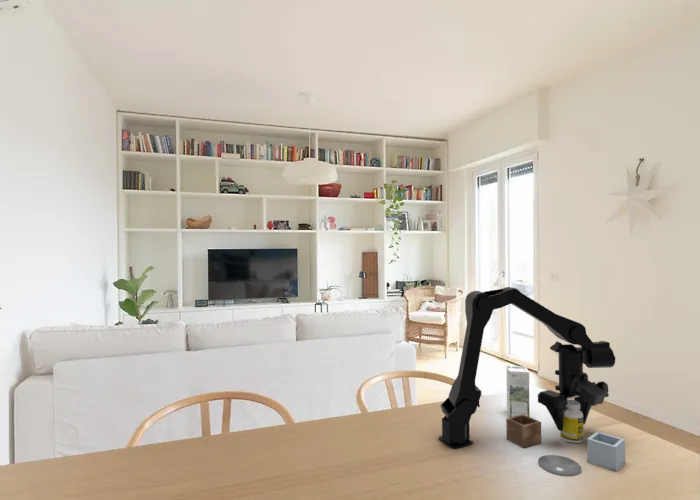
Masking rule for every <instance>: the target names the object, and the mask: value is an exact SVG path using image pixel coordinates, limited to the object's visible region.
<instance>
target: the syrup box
mask: <svg viewBox="0 0 700 500" xmlns="http://www.w3.org/2000/svg"><path fill="white" fill-rule="evenodd" d="M506 412H507V414H508V418H510V417H514V416H518V415H522V414H523V415H526V416H528V417H530V372H529V369H528V368H527V367H526V366H521V365H518V366H516V365H506ZM530 418H531V417H530Z"/></svg>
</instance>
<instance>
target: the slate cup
mask: <svg viewBox="0 0 700 500" xmlns="http://www.w3.org/2000/svg"><path fill="white" fill-rule="evenodd" d="M586 440H587V441H586V443H587V444H586V445H587V446H586V447H587V463H588V464H592V465H595V466H598V467H600V468H601V467H602V468H604V469H607V470H610V471H613V472H616V473H617V472H618V471H619V470H620V469H621V468H622V467H623V466H624V465H625V463H626V439H624V438H621V437H618V436H614V435H611V434H609V433H608V434H607V433H604V432H601V431H596V432H594V433H593V434H592V435H591V436H589V437H588V438H587V439H586Z"/></svg>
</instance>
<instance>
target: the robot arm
mask: <svg viewBox="0 0 700 500" xmlns="http://www.w3.org/2000/svg"><path fill="white" fill-rule="evenodd" d="M464 304H465V305H464V309H465V311H464V312H465V318H466V319H465V320H466V327H465V335H464V339H463V345H462V351H461V356H460V362H459V369H458V374H457V377H456V378H455V380H454V382H453V383H452V385H451V387H450V391H449V393H448V397H447V398H446V399H445V400H444V401H443V402H442V403H440V409H441V411H442V413H443V414H444V417H442V418H441V435H442V436H439V437H438V440H439V441H440V442H442V443H444V444H446V445H447V446H448V447H450V448H451V449H454V450H455V449H458V448H462V447H467V446H469V445H473V444H474V442H473V440H471V439H470V435H471V434H470V420H471V418H472V416H473V414H475V413H476V412H477V408H480V407H481V405H480V400H481V397H482V390H481V389H480V388H479V387H478V386H477V385H476V378H477V372H478V367H479V366H478V365H479V360H480V356H481V355H480V353H481V349H482V343H483V337H484V331H485V327H486V326H487V324H489V321H490V319H491V317H492V315H493V312H494V310H498V309H501V308H504V307H506V306H508V305H512V306H514V307H516V308H517V309H519V310H520V311H522V312H524V313H525V314H527V315H528V316H530V317H532V318H534V319H535V320H537V321H538V322H540V323H542V324H543V325H544V326H545V327H546V328H547V329H548V330H549V331H550V332H551V333H552V334H553V335H554V336H555V337H556V338H557V339H560V340H562V341H563V342H567V343H569V344H565V343H563V344H562V342H559V341H555V342H554V344H552V345H551V346H550V347H549V349H550V350H552V351H553V352H555V353H558V369H556V370H555V371H554V375H557V376H558V384H557V385H555V387H554V388H555V390H556V391H553V390H551V389H548V390H544V391H539V393H537V403H539V404H542V406H545V408H546V409H547V411H548V413H549V414H550V416H551V419H552V420H553V422H554V424H555V427H556V429H557V430H558V431H563V423H564V412H565V411H566V410H567V409H568V407H566V405H567V400H572V399H573V400H575V401H578V402H579V403H580V409H579V410H580V411H581V412H582V413H583V426H584V425H585V424H586V422H587V419H588V417H589V413H590V411H591V409H592V407H594V406H597V405H603V403H604V400H605V398H607V397H609V395H610V394H609V385H608V383H606V382H605V381H597V383H596V382H595V381H593V382H591V381H590V380H589V376H588V373H587V372H584V365H585V367H587V368H588V369H599V368H600V369H602V368H603V369H604V368H609V369H610V368H613V367H614V365H615V364H616V355H615V353H614V351H613V348H611V347H610V345H611V343H610V342H609V341H606V340H599V341H592V339H591V338H590V337H589V335H588V334H587V331H586V330H587V328H586V326H584V324H582V323H580V322H578V321H575V320H572V319H570V318H567V317H565V316H562V315H560V314H557V313H555V312H553V311H552V310H550V309H549V308H547V307H545V306H544V305H542V304H540V303H539V302H538V301H535V300H534V299H533V298H531V297H529V296H528V295H525V294H524V293H522V292H521V291H520V290H519V289H518V288H515V287H511V286H505V287H503V288H498V289H494V290H487V291H480V290H473V291H471V292H469V293H468V294H467V295H466V296H465V301H464ZM576 345H577V346H576ZM578 346H579V347H578ZM557 391H558V392H557Z"/></svg>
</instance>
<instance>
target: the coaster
mask: <svg viewBox="0 0 700 500" xmlns="http://www.w3.org/2000/svg"><path fill="white" fill-rule="evenodd" d="M537 463H538V466H539V467H540V468H541V469H542V470H544V471H546V472H548V473H551V474H553V475H556V476H560V477H561V476H563V477H574V476H578V475H579V474H581V473H582V467H581V466H582V465H580V464H579V462H577V461H576V460H574V459H572V458H569V457H566V456H562V455H557V454H545V455H542V456H540V457H539V458H538V460H537Z"/></svg>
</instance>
